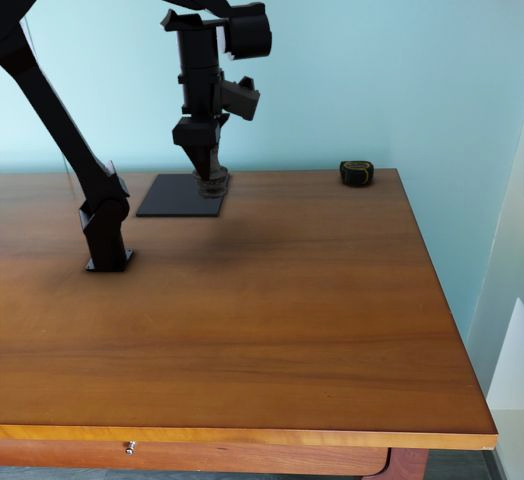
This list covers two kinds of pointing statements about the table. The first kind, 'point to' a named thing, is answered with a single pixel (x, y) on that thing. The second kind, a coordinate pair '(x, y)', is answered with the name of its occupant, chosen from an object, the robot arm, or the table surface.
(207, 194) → the salt shaker
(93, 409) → the table surface
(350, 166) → the tape measure
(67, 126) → the robot arm
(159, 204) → the mat
